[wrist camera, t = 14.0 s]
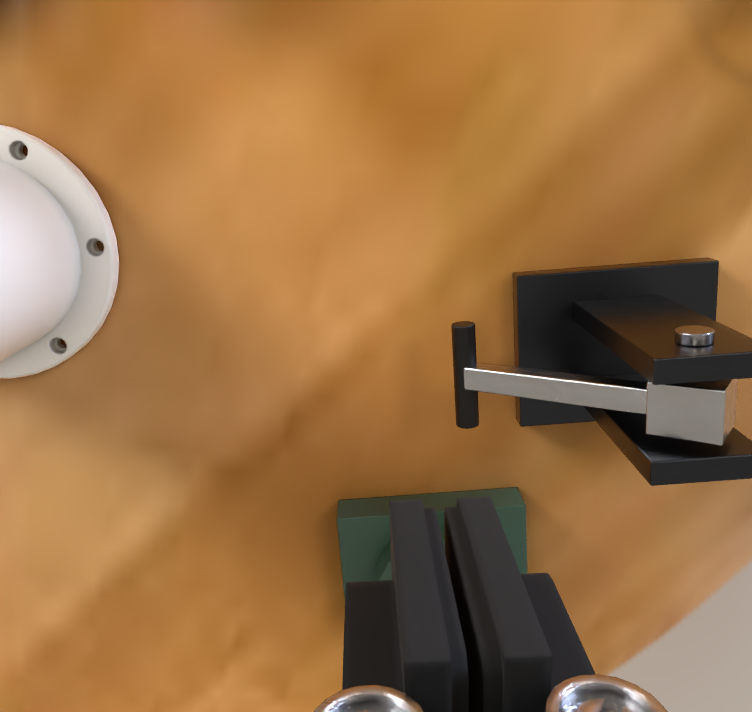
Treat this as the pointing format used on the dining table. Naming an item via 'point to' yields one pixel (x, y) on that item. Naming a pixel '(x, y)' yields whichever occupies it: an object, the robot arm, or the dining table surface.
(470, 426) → the lever
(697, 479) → the bracket
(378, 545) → the button box
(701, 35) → the dining table surface
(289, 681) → the dining table surface
